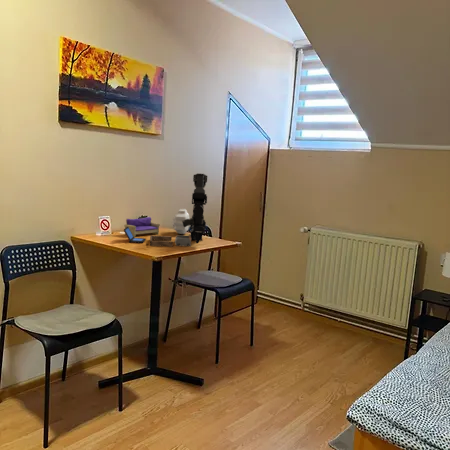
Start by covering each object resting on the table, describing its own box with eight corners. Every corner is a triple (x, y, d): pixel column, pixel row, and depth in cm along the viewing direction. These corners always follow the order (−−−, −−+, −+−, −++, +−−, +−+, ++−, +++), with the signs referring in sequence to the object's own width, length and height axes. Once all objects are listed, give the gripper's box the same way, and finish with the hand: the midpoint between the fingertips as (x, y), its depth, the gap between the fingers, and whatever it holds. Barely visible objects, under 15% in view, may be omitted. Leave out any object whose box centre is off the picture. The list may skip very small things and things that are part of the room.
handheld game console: (142, 244, 247) (143, 230, 246) (122, 243, 247) (123, 229, 246) (146, 240, 260) (146, 227, 258) (127, 239, 259) (127, 226, 258)
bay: (171, 240, 262) (171, 236, 262) (172, 246, 244) (172, 242, 244) (150, 239, 260) (150, 235, 260) (149, 245, 243) (149, 241, 242)
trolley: (189, 242, 261) (189, 234, 260) (190, 246, 249) (191, 237, 248) (175, 242, 259) (175, 233, 259) (175, 246, 247) (176, 237, 247)
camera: (190, 232, 299) (192, 207, 297) (187, 236, 281) (188, 210, 279) (174, 230, 299) (175, 206, 297) (169, 235, 281) (170, 209, 279)
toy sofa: (133, 237, 265) (134, 220, 263) (123, 235, 270) (124, 218, 268) (159, 234, 281) (160, 218, 280) (149, 232, 286) (150, 216, 285)
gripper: (182, 211, 261) (180, 238, 263) (184, 215, 242) (182, 244, 245) (201, 212, 263) (200, 239, 265) (205, 216, 244) (203, 245, 246)
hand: (196, 242), depth 255 cm, fingers open, 9 cm apart
